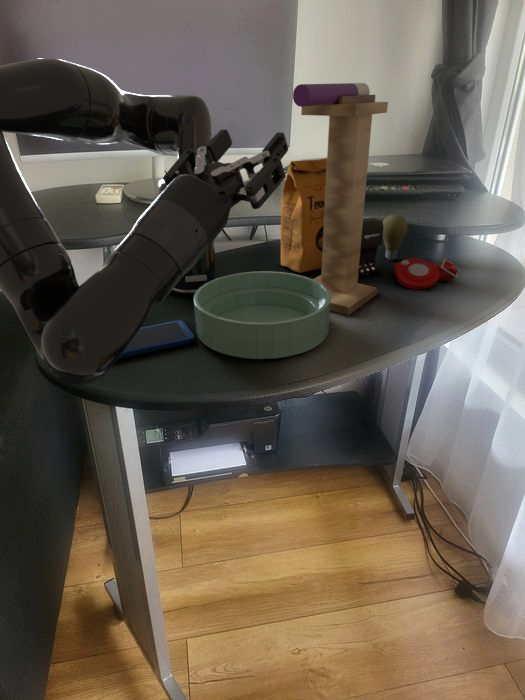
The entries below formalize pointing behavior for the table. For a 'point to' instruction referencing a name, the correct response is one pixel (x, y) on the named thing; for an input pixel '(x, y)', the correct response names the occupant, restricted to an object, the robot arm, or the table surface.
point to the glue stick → (326, 93)
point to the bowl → (262, 314)
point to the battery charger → (370, 245)
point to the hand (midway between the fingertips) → (254, 137)
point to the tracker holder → (423, 273)
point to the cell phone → (159, 338)
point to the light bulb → (393, 234)
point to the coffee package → (303, 215)
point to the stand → (346, 197)
